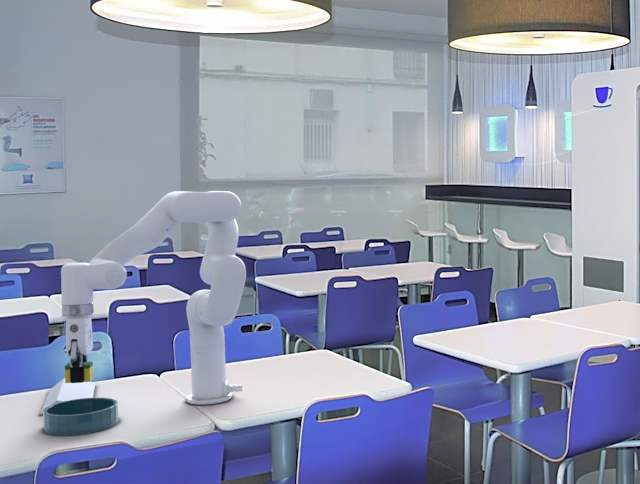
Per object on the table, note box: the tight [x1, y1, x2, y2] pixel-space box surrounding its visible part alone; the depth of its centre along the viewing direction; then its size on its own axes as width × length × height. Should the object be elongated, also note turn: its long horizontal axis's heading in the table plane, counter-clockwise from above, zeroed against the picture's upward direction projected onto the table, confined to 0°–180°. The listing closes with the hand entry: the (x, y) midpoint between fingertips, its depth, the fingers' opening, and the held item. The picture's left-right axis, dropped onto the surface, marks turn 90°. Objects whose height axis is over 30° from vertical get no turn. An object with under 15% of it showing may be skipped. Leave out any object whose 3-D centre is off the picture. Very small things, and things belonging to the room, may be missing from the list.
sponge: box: [64, 361, 94, 383], centre depth 228 cm, size 6×4×4 cm, turn 103°
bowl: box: [42, 397, 119, 436], centre depth 229 cm, size 18×18×5 cm
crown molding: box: [40, 377, 96, 416], centre depth 255 cm, size 29×12×4 cm, turn 21°
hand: (79, 379), depth 228 cm, fingers closed on sponge, 4 cm apart
